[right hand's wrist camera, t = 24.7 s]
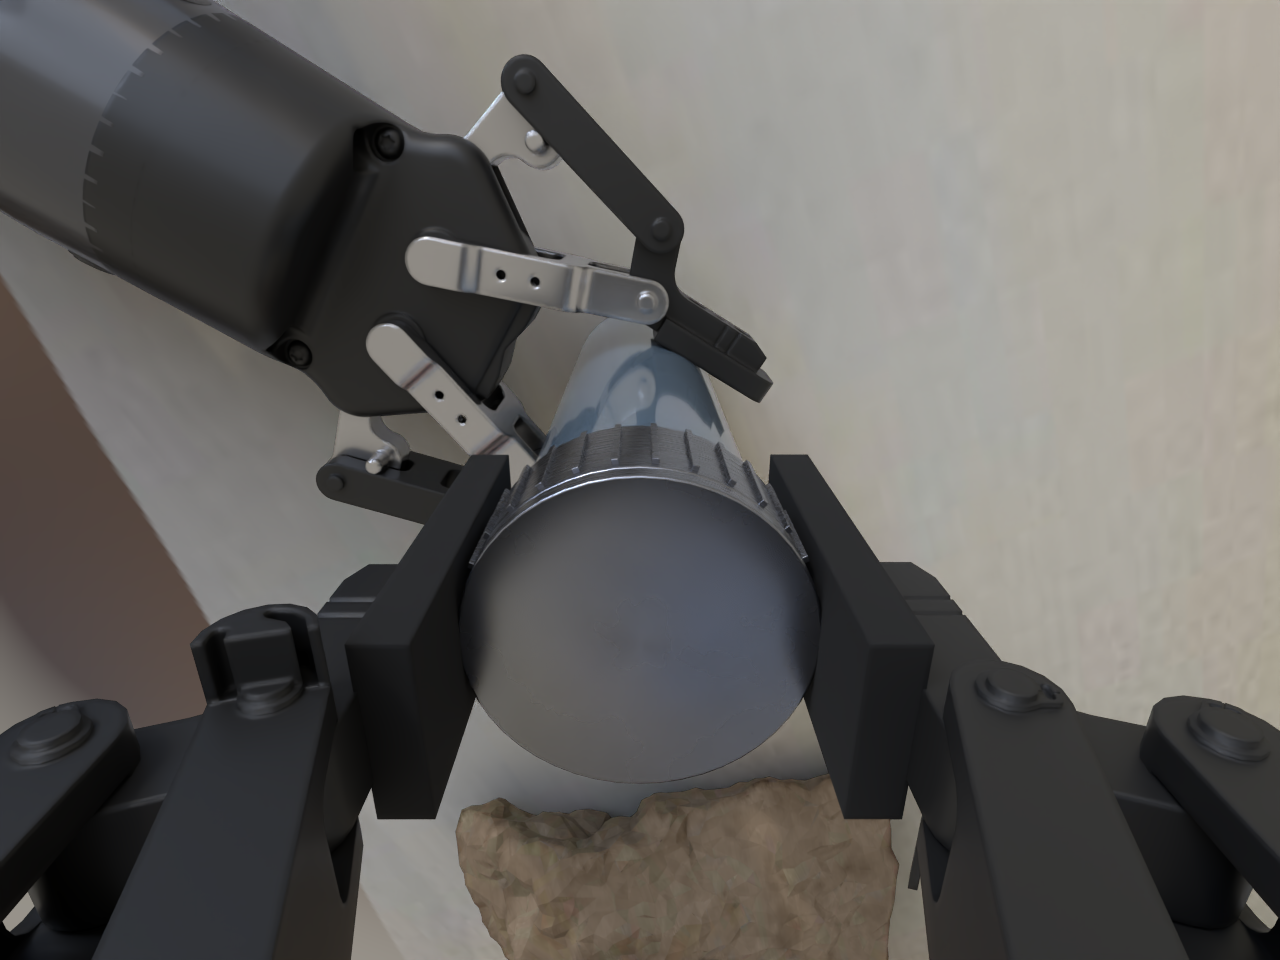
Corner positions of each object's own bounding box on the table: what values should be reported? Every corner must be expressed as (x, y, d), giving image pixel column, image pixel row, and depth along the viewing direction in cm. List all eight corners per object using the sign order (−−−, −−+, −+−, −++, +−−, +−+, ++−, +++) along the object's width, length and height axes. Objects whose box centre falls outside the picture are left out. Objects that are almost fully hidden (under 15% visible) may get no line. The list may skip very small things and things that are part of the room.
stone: (496, 1035, 37) (488, 1158, 31) (457, 781, 35) (440, 862, 29) (866, 952, 40) (923, 1052, 34) (851, 712, 37) (909, 773, 31)
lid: (852, 594, 13) (897, 674, 10) (612, 739, 14) (607, 838, 12) (673, 352, 11) (681, 389, 9) (419, 542, 12) (371, 615, 10)
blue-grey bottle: (726, 361, 27) (851, 584, 11) (649, 453, 28) (663, 768, 12) (628, 281, 26) (610, 404, 10) (553, 381, 27) (433, 628, 11)
